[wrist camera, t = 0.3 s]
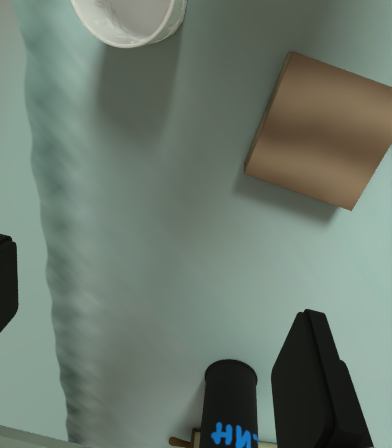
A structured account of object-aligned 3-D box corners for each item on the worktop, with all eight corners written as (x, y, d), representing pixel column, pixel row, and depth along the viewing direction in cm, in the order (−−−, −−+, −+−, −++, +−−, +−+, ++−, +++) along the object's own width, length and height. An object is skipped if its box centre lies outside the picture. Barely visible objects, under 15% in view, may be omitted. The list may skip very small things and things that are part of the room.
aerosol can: (236, 402, 58) (234, 560, 40) (195, 379, 56) (173, 531, 39) (268, 375, 54) (281, 535, 36) (224, 350, 53) (215, 503, 35)
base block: (288, 51, 35) (293, 51, 31) (400, 92, 35) (418, 96, 31) (244, 162, 40) (244, 174, 37) (342, 196, 41) (351, 211, 37)
